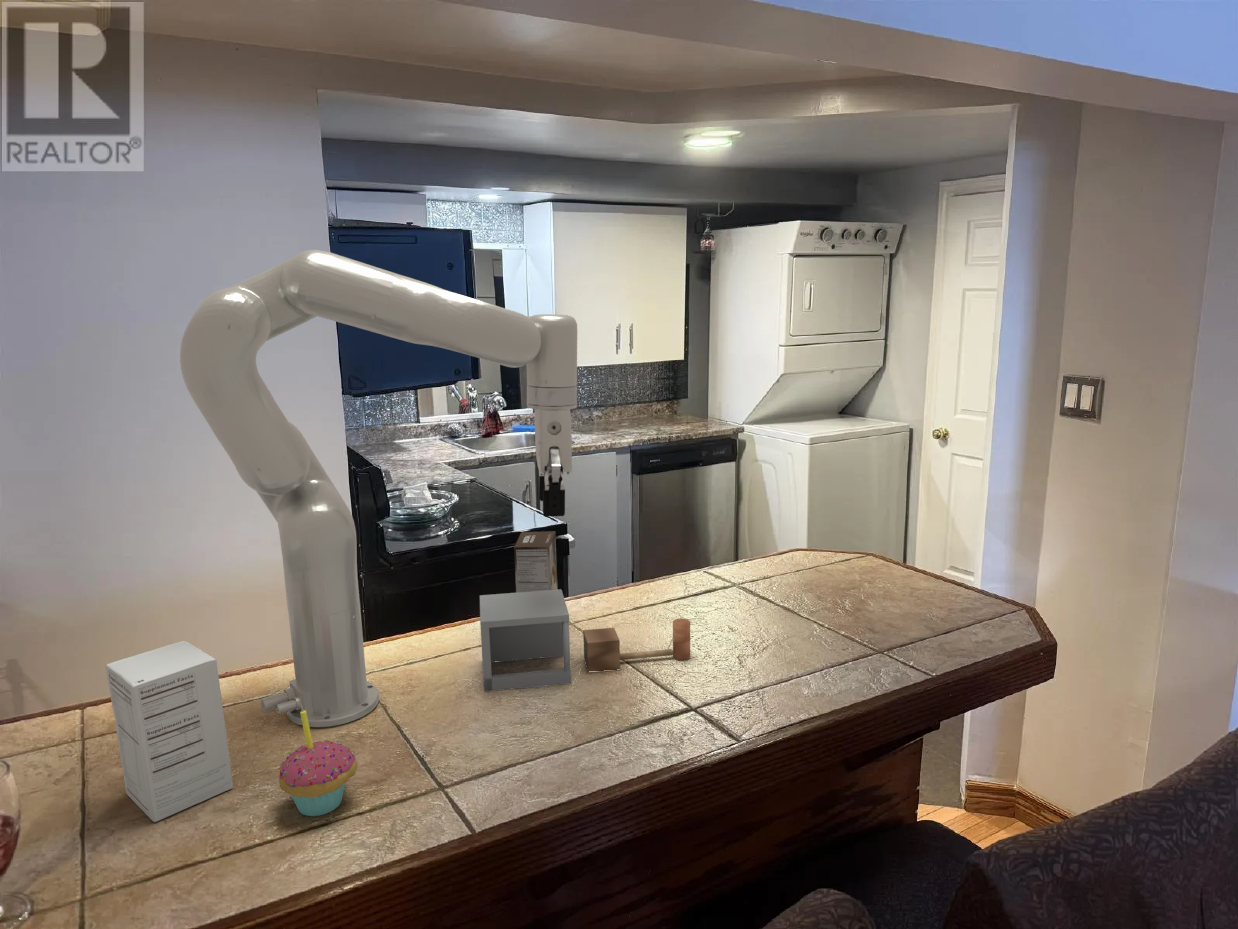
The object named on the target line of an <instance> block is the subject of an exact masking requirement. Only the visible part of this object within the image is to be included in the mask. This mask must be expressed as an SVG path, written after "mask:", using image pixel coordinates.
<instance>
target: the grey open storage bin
mask: <svg viewBox="0 0 1238 929" xmlns="http://www.w3.org/2000/svg"><path fill="white" fill-rule="evenodd" d="M567 606H568V605H567V604H566V600H565V596H564V594H563V590H562V589H561V588H560V589H558V590H545V591H532V592H519V593H516V592H510V593H509V592H508V593H496V594H493V593H492V594H483V595H482V594H481V595H479V617H480V620H479V623H480V640H481V661H482V675H483V676H482V677H483V692H484V691H485V692H493V691H494V690H496V691H504V690H503V689H506V690H512V689H511V688H517V689H525V688H526V687H527V688H534V687H535V688H538V687H546V686H545V685H549V686H556V685H555V684H559V685H569V684H572V671H571V649H570V645H571V644H570V613H569V610H568V608H567ZM557 656H558V657H563V660H562V661H563V668H558V669H545V670H536V671H535V670H534V671H525V672H515V673H514V672H513V673H503V674H492V663H496V662H495V661H502V662H510V661H523V660H522V659H524V660H530V659H529V658H535V659H541V658H540V657H547V658H554V657H555V658H558V657H557ZM537 686H538V687H537Z"/></svg>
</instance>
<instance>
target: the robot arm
mask: <svg viewBox="0 0 1238 929" xmlns="http://www.w3.org/2000/svg"><path fill="white" fill-rule="evenodd" d="M316 317H319V318H322V319H326V320H330V321H333V322H337V323H341V324H344V325H347V326H351V327H354V328H357V329H361V330H365V331H368V332H371V333H375V334H380V335H382V336H385V337H390V338H394V339H397V340H401V341H403V342H407V343H410V344H411V343H412V344H416V345H423V346H432V347H436V348H441V349H445V350H450V351H452V352H457V353H460V354H464V355H468V356H470V357H475V358H478V359H481V360H485V361H487V362H488V363H491V364H496V365H501V366H504V367H507V368H512V369H513V368H521V367H524V366H526V408H528V409H532V410H534V438H535V439H534V442H535V455H536V463H537V464H536V465H537V469H538V471H539V473H540V474H539V476H538V478H539V479H538V497H539V501H540V502H542V514H543V517H550V518H551V517H565V515H566V488H565V481H564V479H565V478H564V473H566V475H568V476H570V475H571V474H572V473H573V461H572V460H573V458H572V457H573V455H572V454H573V453H572V452H573V451H572V450H573V449H572V447H573V446H572V418H571V410H574V409H576V408H578V399H577V398H578V323H577V321H576V319H575V317H573V316H572V315H568V314H552V313H551V314H548V313H547V314H545V313H544V314H542V313H541V314H534V315H532V316H531V315H525V314H522V313H520V312H517V311H514V310H511V309H509V308H505V307H501V306H498V305H495V304H492V303H488V302H486V301H483V300H479V299H476V298H472V297H469V296H466V295H463V294H459V293H457V292H452V291H450V290H447V289H444V288H441V287H439V286H436V285H433V284H430V283H428V282H424V281H421V280H418V279H415V278H412V277H409V276H405V275H402V274H399V273H396V272H393V271H389V270H386V269H384V268H380V267H378V266H377V267H376V266H374V265H372V264H371V265H370V264H367V263H365V262H362V261H359V260H355V259H353V258H349V257H346V256H343V255H339V254H337V253H333V252H330V251H326V250H323V249H322V250H321V249H308V250H304V251H301V252H299V253H297V254H295V255H294V256H292V257H291V258H289V259H287V260H285V261H283V262H281V263H280V264H279V263H278V264H277V265H275V266H273V267H271V268H269V269H267V270H264V271H262V272H260V273H257V274H256V275H254V276H251V277H249V278H247V279H244V280H243V281H240V282H237V283H235V284H233V285H230V286H228V287H225V288H221V289H217V290H216V291H213V292H212V293H211V294H209V295H208V296H207V297H206V298H205V299H204V300H202V302H201V303H200V304H199V306H198V307H197V309H196V310H195V311H194V313H193V315H192V317H191V318H190V320H189V322H188V323H187V326H186V327H185V330H184V333H183V336H182V338H181V342H180V350H179V362H180V370H181V371H180V372H181V375H182V379H183V381H184V384H185V387H186V388H187V391H188V394H189V395H190V397H191V399H192V400H193V402H194V403H195V405H196V407H197V408H198V410H199V412H200V413H201V414H202V416H203V418H204V419H205V421H206V423H207V424H208V426H209V428H210V429H211V431H212V432H213V434H214V436H215V438H217V440H218V442H219V443H220V445H221V446H222V448H223V449H224V451H225V452H226V454H227V455H228V457H229V459H230V460H231V461H232V464H233V465H234V467H235V470H236V472H237V473H238V475H239V477H240V478H241V479H242V481H243V482H244V483H245V484H246V485H247V486H248V487H249V488H251V489H252V490H254V491H255V492H256V493H257V494H258V496H259V497H260V499H261V500H262V502H263V503H264V505H265V506H266V508H267V509H268V511H269V513H271V515H272V516H273V518H274V520H275V521H276V523H277V527H278V533H279V542H280V549H281V555H282V556H281V557H282V566H283V575H284V586H285V594H286V604H287V612H288V620H289V631H290V640H291V650H292V651H291V652H292V659H293V660H292V661H293V668H294V669H293V670H294V676H295V677H294V679H291V680H289V681H288V682H289V687H288V688H286V689H283V692H280V693H277V694H272V695H269V696H266V697H263V698H261V699H260V706H261V707H260V708H261V709H262V712H263V713H267V712H269V711H273V710H275V711H276V714H278V715H282V714H284V713H286V714H287V718H288V719H289V720H290V721H291V722H292V723H294V724H296V725H299V726H302V727H303V724H302V719H301V714H300V712H301V711H302V710H301V706H300V705H302V706H303V710H304V711H306V713H307V718H308V723H309V728H327V727H335V726H341V725H344V724H348V723H351V722H353V721H356V720H358V719H360V718H362V717H364V716H366V715H368V714H369V713H370V712H371V711H373V710H374V709H375V708H376V707H377V705H378V703H379V701H380V692H379V689H378V687H377V686H376V685H374V683H371V682H369V681H367V671H366V659H365V648H364V636H363V626H362V624H363V623H362V614H361V612H362V611H361V600H360V593H359V592H360V591H359V590H360V589H359V579H358V563H357V562H358V561H357V559H358V558H357V552H358V551H357V548H358V547H357V546H358V545H357V544H358V542H357V530H356V525H355V520H354V518H353V515H352V512H351V511H350V508H349V507H348V504H347V503H346V502H345V500H344V499H343V496H342V495H341V493H340V492H339V491H338V488H337V487H336V486H335V483H333V482H332V480H331V478H330V476H329V475H328V474H327V472H326V470H325V468H324V467H323V465H322V464H321V462H320V461H319V459H318V458H317V456H316V454H315V452H314V451H313V449H312V448H311V446H310V445H309V444H308V441H307V440H306V438H305V437H304V435H303V434H302V432H301V431H300V430H299V428H298V427H296V425H294V424H293V423H292V422H290V421H289V420H288V419H287V417H286V416H285V414H284V413H283V411H282V409H281V408H280V406H279V405H278V404H277V402H276V400H275V399H274V396H273V395H272V393H271V391H270V390H269V388H268V386H267V385H266V383H265V381H264V380H263V378H262V377H261V376H260V373H259V370H258V368H257V354H258V351H259V350H260V349H261V347H263V346H264V344H265V343H266V342H267V341H270V340H272V339H273V338H275V337H278V336H280V335H282V334H284V333H286V332H288V331H291V330H293V329H294V328H297V327H299V326H301V325H303V324H305V323H307V322H309V321H311V320H312V319H314V318H316Z"/></svg>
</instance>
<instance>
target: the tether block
mask: <svg viewBox="0 0 1238 929" xmlns="http://www.w3.org/2000/svg"><path fill="white" fill-rule="evenodd" d="M582 635H583V637H582V638H583V660H584V659H585V660H584V663H585V662H586V664H585V667H586V666H587V667H586V669H588V670H587V672H589V671H604V670H616V671H618V670H617V669H620V670H621V661H625V660H626V661H627V660H637V659H638V660H639V659H650V658H659V657H666V656H667V657H669V656H670V657H671V656H672V658H673V659H674V660H676V661H679V662H685V661H688V660H690V659H691V621H690V620H689V619H687V618H676V619H674V620H673V621H672V648H670V649H669V648H667V649H658V650H656V649H655V650H647V651H646V650H644V651H635V652H626V653H625V652H623V653H621V652H620V648H621V647H620V645H621V644H620V641H621V640H620V638H619V635H618V634H617V630H616V629H615V627H606V628H605V627H604V628H595V629H594V628H593V629H584V630H582Z"/></svg>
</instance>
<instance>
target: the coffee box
mask: <svg viewBox="0 0 1238 929" xmlns="http://www.w3.org/2000/svg"><path fill="white" fill-rule="evenodd" d="M556 542H557V539H556V531H555V530H553V531H550V530H549V531H523V532H520V534H519V537H518V538H517V540H516V543H515V544H514V547H513V550H514V551H513V553H514V555H513V556H514V570H515V572H514V573H515V574H514V575H515V593H519V592H532V591H545V590H558V572H557V570H558V569H557V568H558V567H557V547H556V546H557V543H556Z"/></svg>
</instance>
